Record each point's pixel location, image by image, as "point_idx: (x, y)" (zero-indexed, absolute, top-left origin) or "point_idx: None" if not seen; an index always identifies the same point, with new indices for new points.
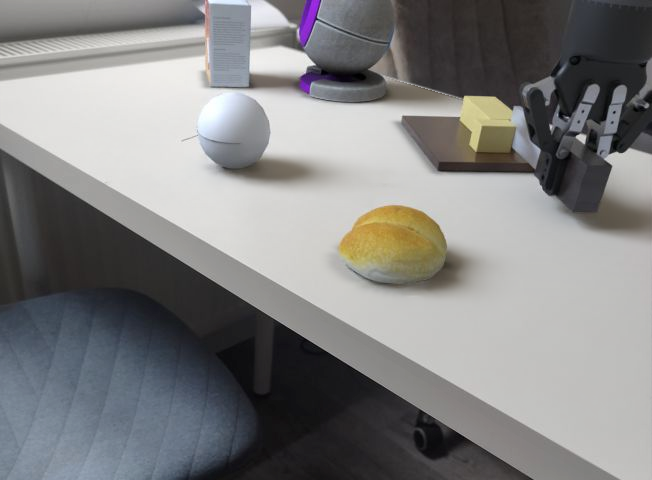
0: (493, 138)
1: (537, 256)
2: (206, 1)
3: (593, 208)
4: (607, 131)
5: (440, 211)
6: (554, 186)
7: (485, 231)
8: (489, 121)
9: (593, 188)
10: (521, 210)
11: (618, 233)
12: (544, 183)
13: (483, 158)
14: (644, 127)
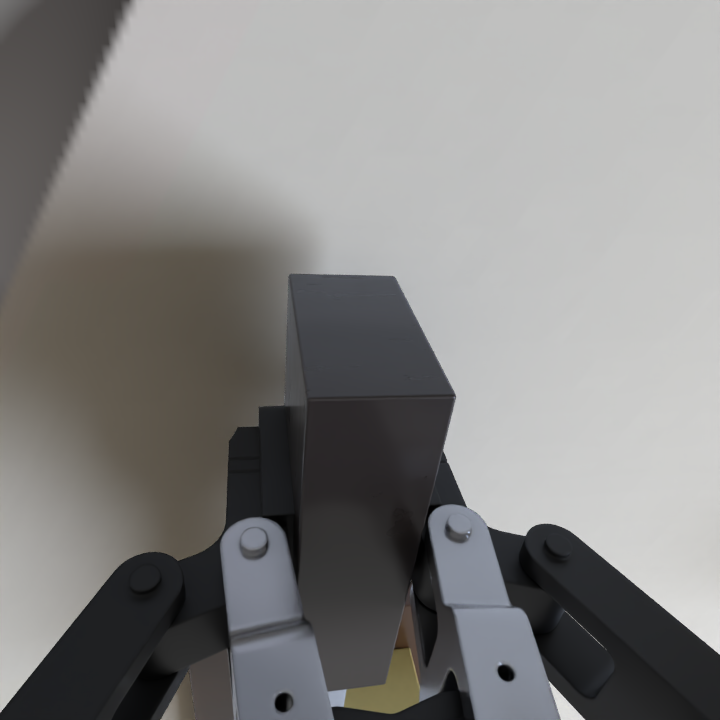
0: (378, 692)
1: (647, 23)
2: None
3: (314, 280)
4: (292, 642)
5: (696, 367)
6: None
7: (672, 240)
8: None
9: (359, 326)
10: (456, 378)
11: (185, 203)
12: None
13: (412, 622)
14: (7, 714)
